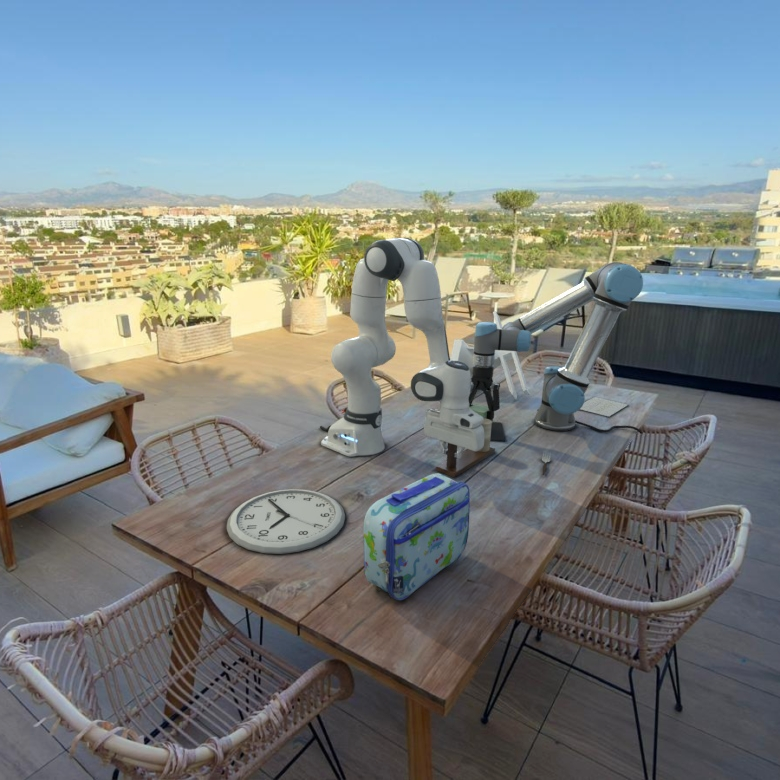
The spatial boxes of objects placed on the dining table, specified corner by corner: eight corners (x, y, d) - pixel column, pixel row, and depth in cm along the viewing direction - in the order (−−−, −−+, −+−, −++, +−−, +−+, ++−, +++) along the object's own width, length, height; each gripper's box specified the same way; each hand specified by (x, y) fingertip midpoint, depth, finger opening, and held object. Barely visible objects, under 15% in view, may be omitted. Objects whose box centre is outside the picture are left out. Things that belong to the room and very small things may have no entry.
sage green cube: (492, 423, 197) (493, 407, 195) (482, 428, 191) (483, 412, 189) (475, 418, 201) (476, 403, 199) (465, 423, 196) (466, 408, 194)
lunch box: (392, 613, 103) (394, 520, 97) (356, 587, 110) (356, 498, 104) (472, 558, 121) (478, 476, 114) (437, 539, 128) (441, 461, 122)
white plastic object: (461, 429, 252) (437, 405, 227) (444, 352, 274) (420, 323, 250) (535, 404, 240) (518, 377, 215) (510, 326, 262) (492, 293, 237)
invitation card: (608, 416, 214) (573, 407, 224) (608, 416, 214) (573, 408, 224) (628, 404, 229) (594, 396, 238) (628, 405, 229) (594, 397, 238)
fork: (538, 475, 162) (539, 470, 161) (542, 455, 176) (543, 450, 175) (547, 477, 161) (547, 471, 160) (550, 457, 175) (551, 451, 174)
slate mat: (500, 423, 205) (500, 422, 204) (504, 441, 188) (505, 440, 187) (454, 421, 207) (454, 419, 206) (454, 438, 190) (454, 437, 189)
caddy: (494, 452, 178) (497, 421, 175) (454, 477, 160) (456, 442, 156) (477, 447, 183) (479, 416, 179) (435, 470, 164) (437, 436, 161)
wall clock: (345, 545, 122) (213, 550, 119) (345, 551, 122) (214, 556, 120) (344, 484, 150) (238, 487, 148) (345, 490, 151) (239, 492, 148)
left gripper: (420, 408, 163) (419, 449, 167) (477, 425, 150) (474, 468, 154) (432, 404, 167) (430, 443, 172) (488, 419, 155) (485, 461, 159)
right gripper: (454, 362, 193) (450, 420, 200) (503, 372, 180) (498, 433, 187) (464, 358, 198) (461, 415, 205) (513, 368, 186) (508, 428, 193)
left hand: (451, 455), depth 163 cm, fingers closed on caddy, 3 cm apart
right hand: (478, 424), depth 196 cm, fingers closed on sage green cube, 7 cm apart
